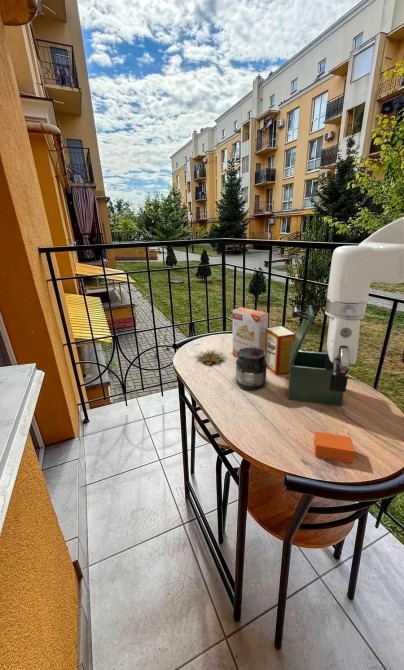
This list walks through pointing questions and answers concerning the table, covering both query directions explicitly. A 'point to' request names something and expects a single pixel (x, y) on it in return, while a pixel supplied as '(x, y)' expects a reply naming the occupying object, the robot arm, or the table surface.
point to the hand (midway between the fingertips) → (334, 379)
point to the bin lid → (300, 330)
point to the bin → (312, 380)
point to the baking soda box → (278, 349)
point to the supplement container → (251, 368)
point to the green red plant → (210, 358)
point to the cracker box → (249, 329)
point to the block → (333, 447)
